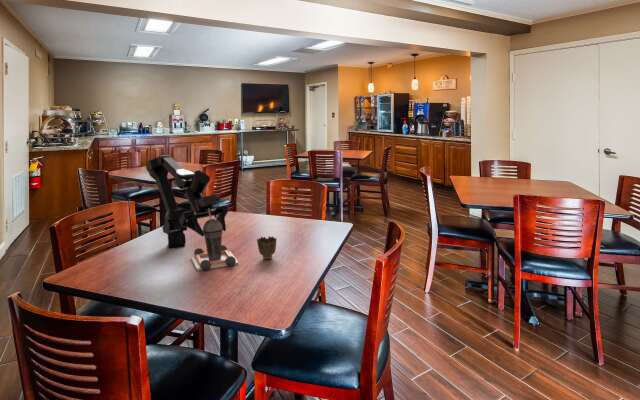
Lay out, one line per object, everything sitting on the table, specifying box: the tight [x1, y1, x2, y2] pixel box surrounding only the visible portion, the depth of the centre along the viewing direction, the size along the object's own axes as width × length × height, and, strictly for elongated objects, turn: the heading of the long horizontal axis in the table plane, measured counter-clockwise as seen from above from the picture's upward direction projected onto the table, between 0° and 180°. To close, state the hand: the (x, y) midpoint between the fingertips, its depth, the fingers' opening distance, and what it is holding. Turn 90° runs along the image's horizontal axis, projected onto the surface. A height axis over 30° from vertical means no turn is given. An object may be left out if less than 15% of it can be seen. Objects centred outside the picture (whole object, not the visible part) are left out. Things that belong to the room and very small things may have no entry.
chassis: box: [190, 244, 240, 271], centre depth 158 cm, size 15×16×4 cm
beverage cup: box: [202, 208, 223, 261], centre depth 156 cm, size 7×7×20 cm
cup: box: [256, 235, 277, 261], centre depth 160 cm, size 8×7×8 cm
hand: (214, 233), depth 155 cm, fingers open, 9 cm apart
